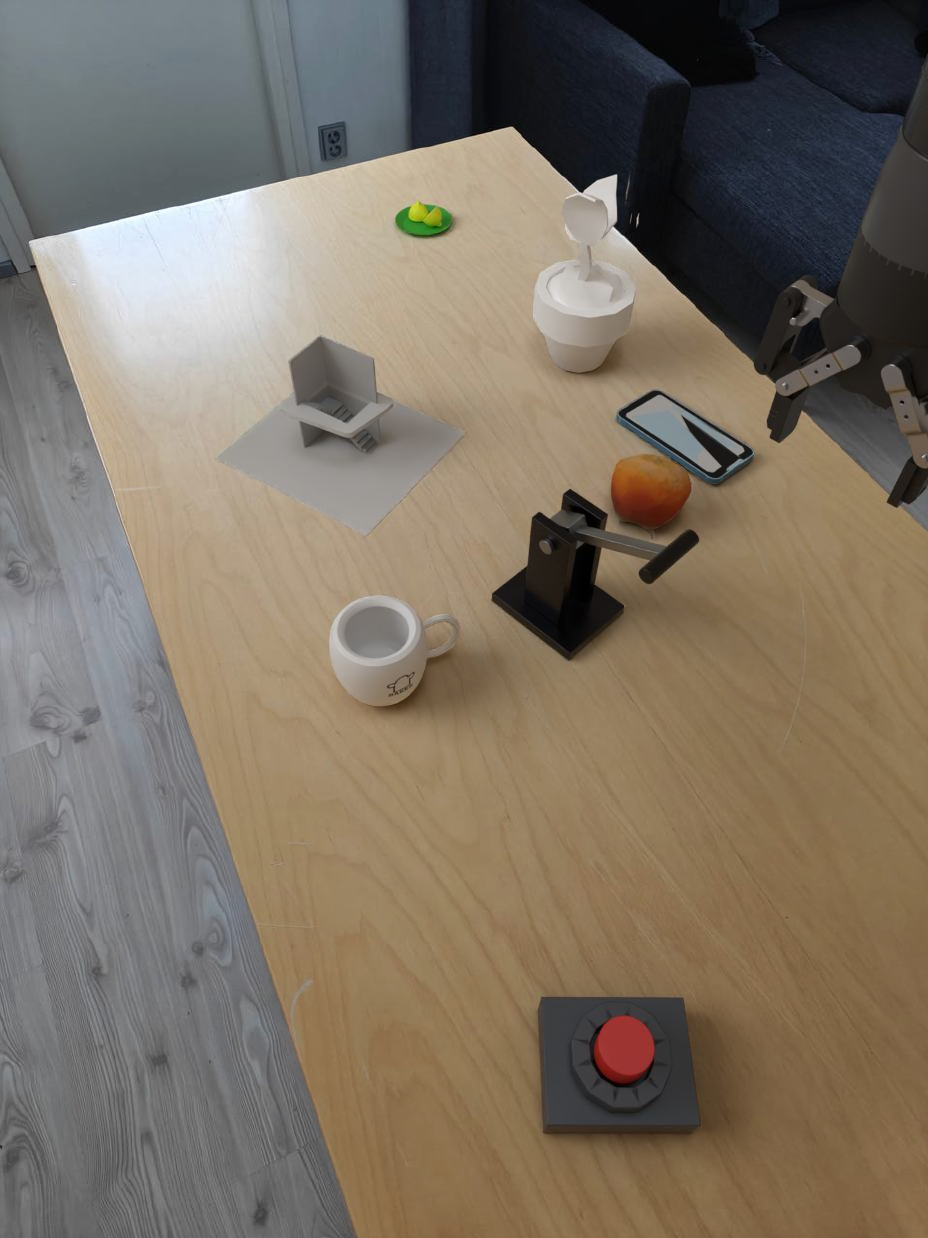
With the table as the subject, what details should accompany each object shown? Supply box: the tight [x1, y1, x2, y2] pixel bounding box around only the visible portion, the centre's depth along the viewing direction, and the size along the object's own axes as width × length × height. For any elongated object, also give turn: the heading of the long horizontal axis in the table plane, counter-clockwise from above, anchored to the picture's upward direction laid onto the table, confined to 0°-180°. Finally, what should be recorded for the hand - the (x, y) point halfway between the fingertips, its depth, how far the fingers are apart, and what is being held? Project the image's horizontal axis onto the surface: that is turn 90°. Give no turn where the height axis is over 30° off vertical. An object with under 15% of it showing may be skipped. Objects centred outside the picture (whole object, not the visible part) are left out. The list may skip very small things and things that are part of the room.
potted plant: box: [532, 170, 640, 374], centre depth 103 cm, size 13×12×25 cm
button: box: [594, 1016, 655, 1084], centre depth 60 cm, size 4×4×3 cm
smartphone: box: [615, 388, 756, 485], centre depth 104 cm, size 7×1×15 cm
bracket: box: [491, 488, 626, 661], centre depth 84 cm, size 10×8×13 cm
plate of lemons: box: [394, 200, 453, 236], centre depth 130 cm, size 8×8×3 cm
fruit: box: [610, 453, 692, 540], centre depth 95 cm, size 8×8×8 cm
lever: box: [549, 509, 700, 585], centre depth 77 cm, size 13×6×2 cm, turn 45°
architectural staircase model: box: [214, 334, 467, 537], centre depth 98 cm, size 19×21×12 cm
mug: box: [328, 594, 461, 707], centre depth 82 cm, size 12×8×8 cm
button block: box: [537, 996, 702, 1135], centre depth 63 cm, size 10×8×5 cm
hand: (838, 466), depth 60 cm, fingers open, 8 cm apart
